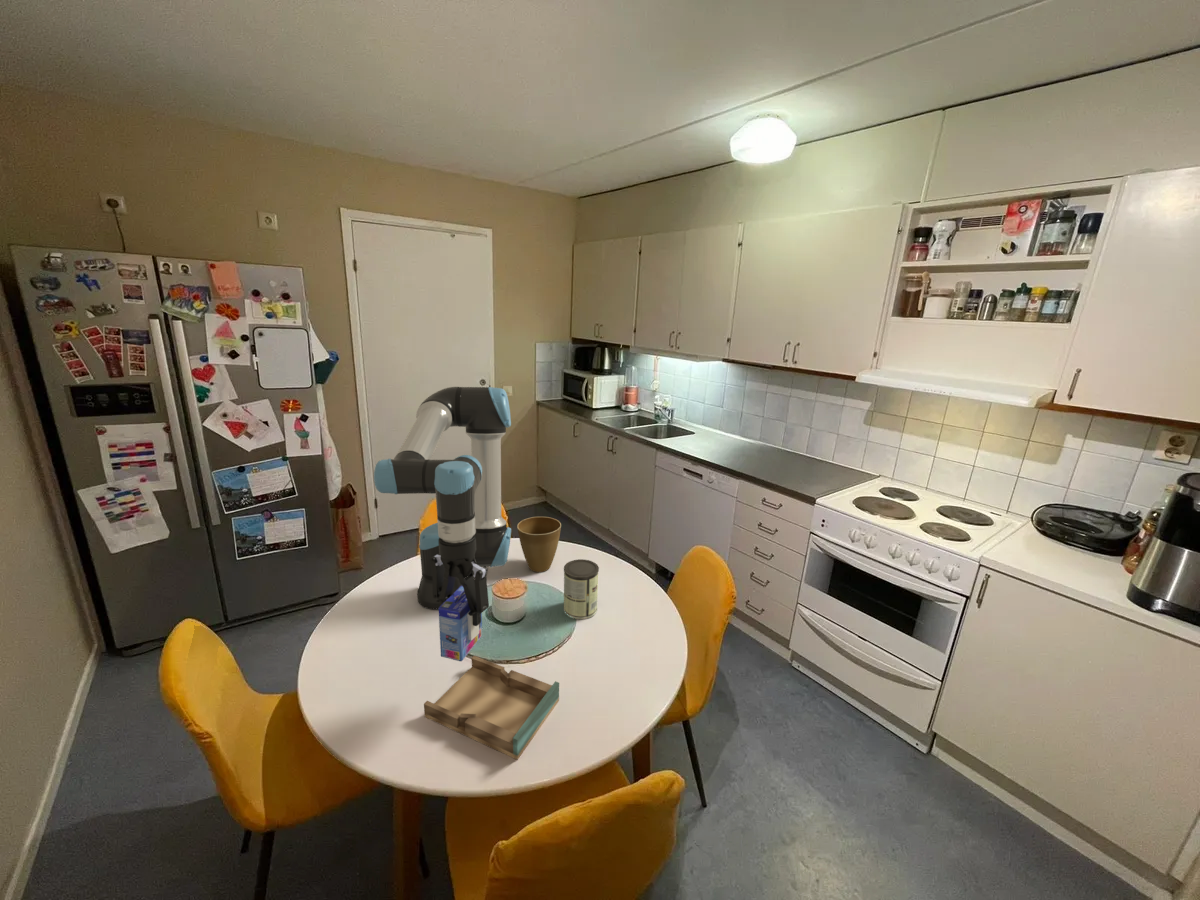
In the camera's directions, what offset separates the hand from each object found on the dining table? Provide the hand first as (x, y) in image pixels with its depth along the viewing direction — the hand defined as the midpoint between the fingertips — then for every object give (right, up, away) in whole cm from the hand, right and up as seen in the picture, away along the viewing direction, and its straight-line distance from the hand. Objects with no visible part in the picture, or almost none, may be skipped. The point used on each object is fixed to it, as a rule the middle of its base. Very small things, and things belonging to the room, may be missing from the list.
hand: (461, 631), depth 106 cm
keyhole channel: (+7, -18, +2) cm, 19 cm away
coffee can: (+25, -8, +39) cm, 47 cm away
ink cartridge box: (0, -4, +1) cm, 4 cm away
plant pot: (+9, -1, +62) cm, 63 cm away
